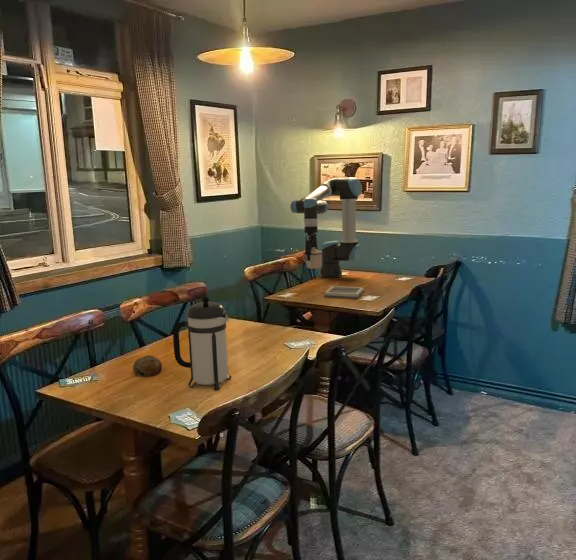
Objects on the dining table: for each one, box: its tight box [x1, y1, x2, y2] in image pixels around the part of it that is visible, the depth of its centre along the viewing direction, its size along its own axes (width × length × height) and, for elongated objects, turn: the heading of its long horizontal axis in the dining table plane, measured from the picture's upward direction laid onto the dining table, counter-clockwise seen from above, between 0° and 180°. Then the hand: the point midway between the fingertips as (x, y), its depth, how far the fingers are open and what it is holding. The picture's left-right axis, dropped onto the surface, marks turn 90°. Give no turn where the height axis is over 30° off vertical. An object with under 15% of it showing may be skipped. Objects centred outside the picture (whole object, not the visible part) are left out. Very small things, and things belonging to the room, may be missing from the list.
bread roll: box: [132, 355, 162, 378], centre depth 189 cm, size 10×10×8 cm
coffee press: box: [172, 296, 232, 391], centre depth 175 cm, size 17×16×30 cm
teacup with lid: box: [302, 247, 322, 270], centre depth 307 cm, size 12×9×12 cm
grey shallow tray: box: [323, 285, 365, 299], centre depth 301 cm, size 17×19×2 cm
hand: (311, 264), depth 307 cm, fingers closed on teacup with lid, 9 cm apart
